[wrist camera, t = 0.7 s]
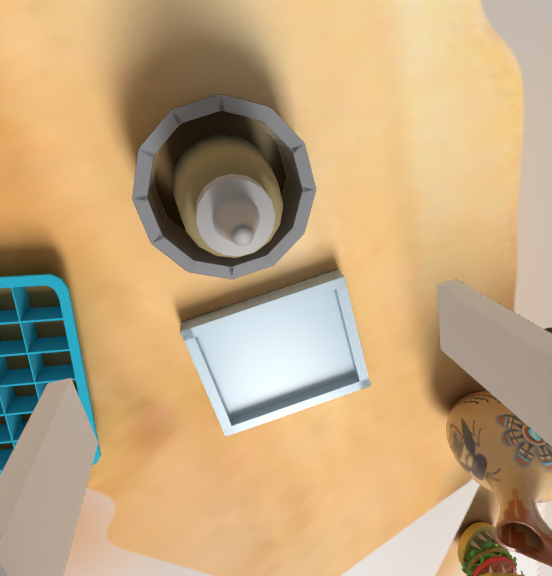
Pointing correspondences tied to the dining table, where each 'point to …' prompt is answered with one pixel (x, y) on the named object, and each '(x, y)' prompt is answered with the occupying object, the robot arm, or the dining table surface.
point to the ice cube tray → (37, 356)
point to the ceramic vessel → (505, 469)
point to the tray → (278, 352)
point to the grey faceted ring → (176, 239)
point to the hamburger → (484, 553)
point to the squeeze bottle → (227, 195)
